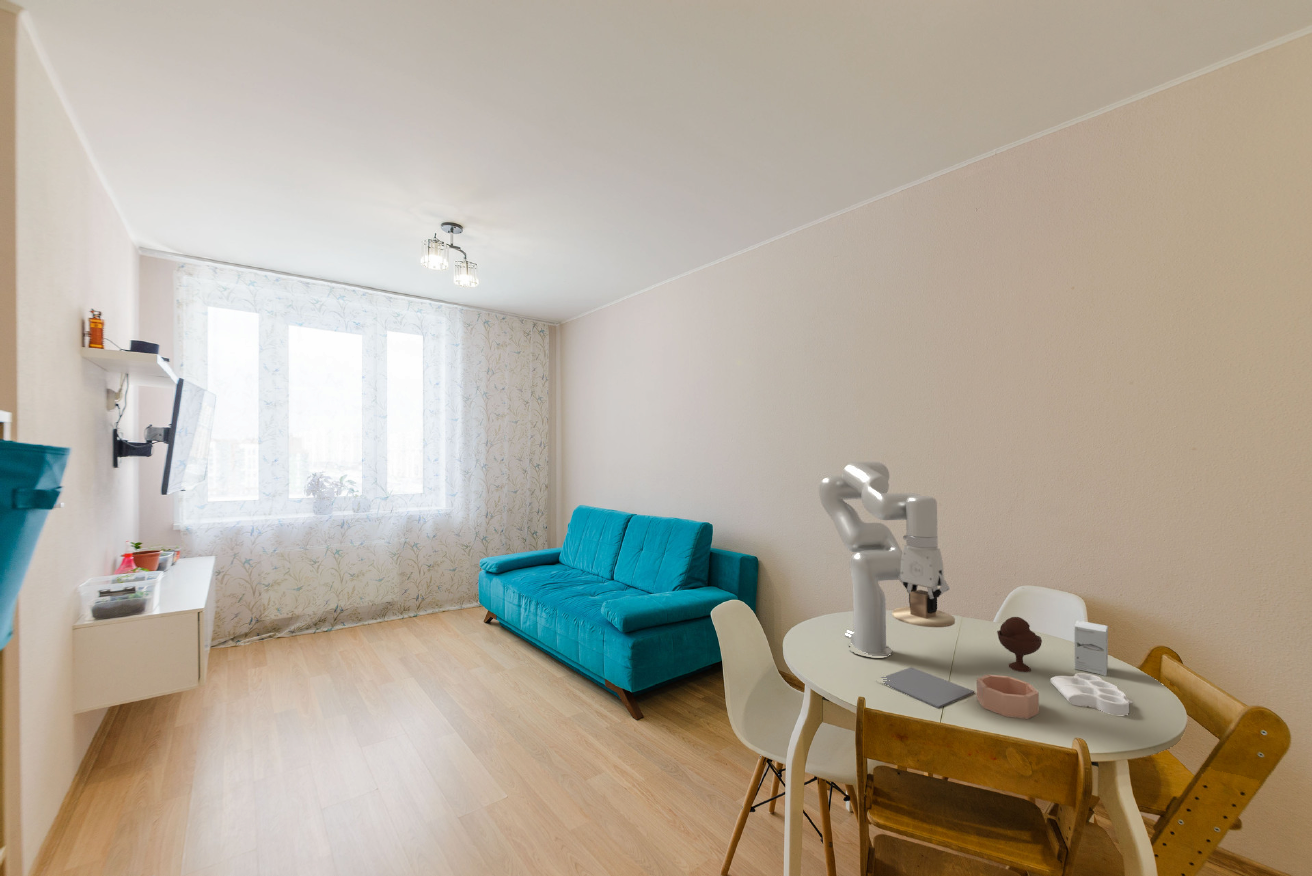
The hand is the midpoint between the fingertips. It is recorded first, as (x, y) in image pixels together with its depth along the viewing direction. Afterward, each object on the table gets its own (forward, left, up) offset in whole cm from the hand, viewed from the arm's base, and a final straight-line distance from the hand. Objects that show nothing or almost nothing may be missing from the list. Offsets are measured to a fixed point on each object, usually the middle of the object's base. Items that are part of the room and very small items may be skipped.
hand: (923, 609), depth 145 cm
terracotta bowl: (+17, +8, -21) cm, 28 cm away
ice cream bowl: (+7, +35, -21) cm, 41 cm away
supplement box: (+18, +52, -21) cm, 59 cm away
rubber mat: (0, 0, -21) cm, 21 cm away
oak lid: (0, 0, -2) cm, 2 cm away
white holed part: (+26, +31, -21) cm, 46 cm away
